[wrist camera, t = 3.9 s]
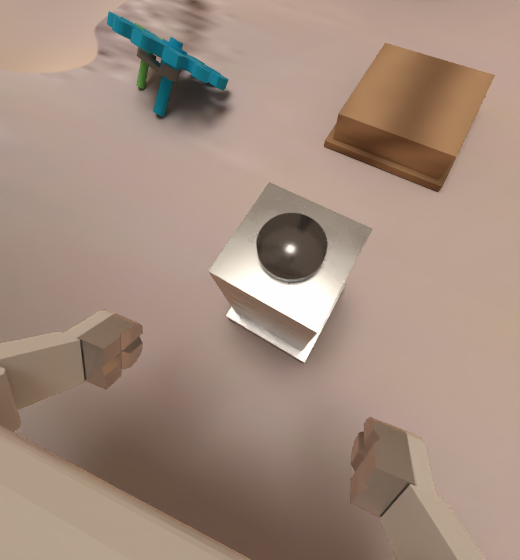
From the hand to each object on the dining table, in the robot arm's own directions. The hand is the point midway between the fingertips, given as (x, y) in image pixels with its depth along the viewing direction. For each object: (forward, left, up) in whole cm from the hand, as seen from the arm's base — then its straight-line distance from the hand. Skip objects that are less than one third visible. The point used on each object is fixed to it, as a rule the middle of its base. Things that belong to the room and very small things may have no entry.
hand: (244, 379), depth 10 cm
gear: (-20, +19, -10) cm, 29 cm away
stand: (0, +24, -10) cm, 26 cm away
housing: (-1, +5, -10) cm, 11 cm away
